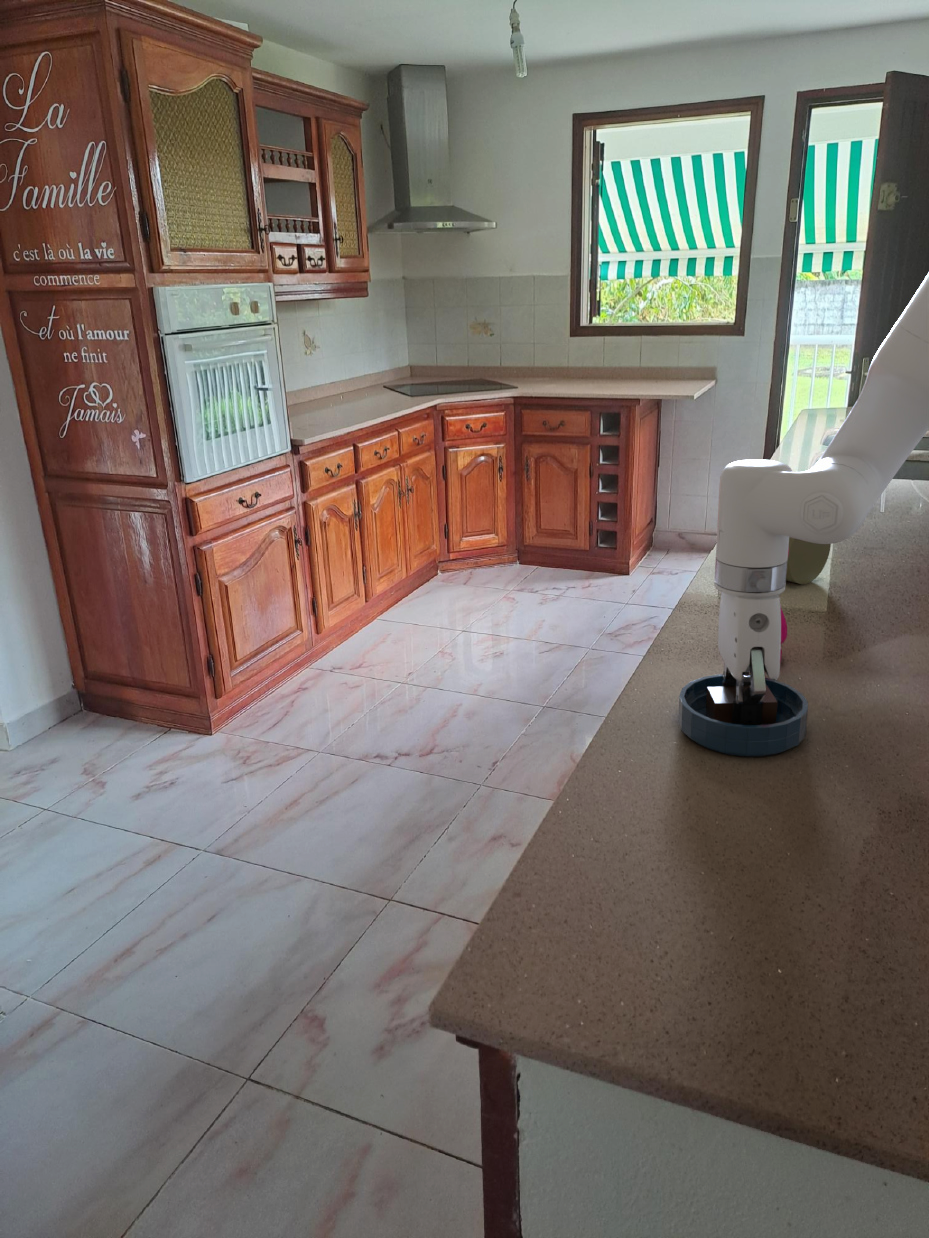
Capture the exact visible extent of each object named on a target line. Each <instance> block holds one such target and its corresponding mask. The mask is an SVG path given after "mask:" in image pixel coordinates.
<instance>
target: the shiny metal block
mask: <svg viewBox="0 0 929 1238" xmlns="http://www.w3.org/2000/svg"><path fill="white" fill-rule="evenodd" d="M749 687H750V686H743V692H744V690H745V689H746V688H749ZM733 701H736V686H722V687H707V698H706V717H708V718H710V719H714V720H718V721H722V722H726V723H731V724H732V710H733ZM776 715H777V700H776V699H775V697H774V696H773V694H772V693H771V691H770V689H769V688H768V686H767V685H766V694H765V695H764V696H763V708H762V721H761V725H769V724H775V723H776Z"/></svg>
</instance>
